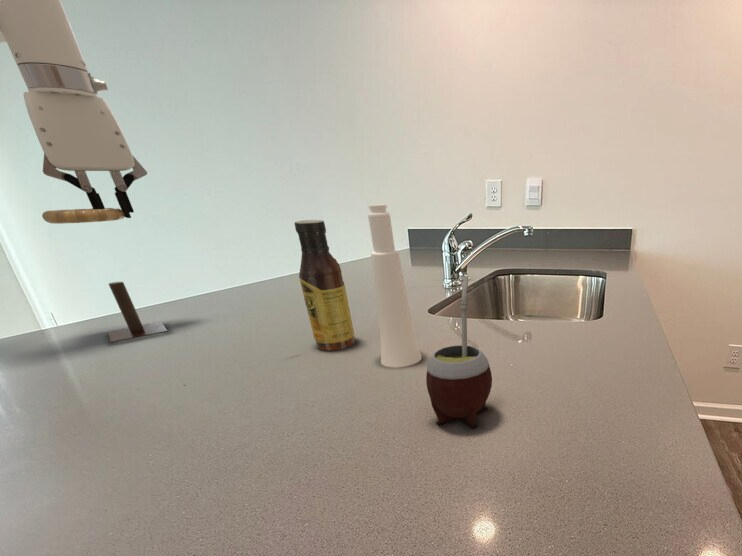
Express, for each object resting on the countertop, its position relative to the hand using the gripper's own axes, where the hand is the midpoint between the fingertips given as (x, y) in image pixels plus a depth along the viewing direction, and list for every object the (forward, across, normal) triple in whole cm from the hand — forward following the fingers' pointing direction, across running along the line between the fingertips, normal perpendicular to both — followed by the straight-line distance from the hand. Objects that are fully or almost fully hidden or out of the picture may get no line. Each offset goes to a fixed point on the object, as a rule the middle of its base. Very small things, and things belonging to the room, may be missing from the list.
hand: (116, 217), depth 69 cm
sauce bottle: (+21, -20, +32) cm, 43 cm away
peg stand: (+21, +4, -1) cm, 21 cm away
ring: (-1, +4, 0) cm, 4 cm away
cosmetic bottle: (+21, -24, +46) cm, 56 cm away
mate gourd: (+21, -20, +66) cm, 72 cm away
